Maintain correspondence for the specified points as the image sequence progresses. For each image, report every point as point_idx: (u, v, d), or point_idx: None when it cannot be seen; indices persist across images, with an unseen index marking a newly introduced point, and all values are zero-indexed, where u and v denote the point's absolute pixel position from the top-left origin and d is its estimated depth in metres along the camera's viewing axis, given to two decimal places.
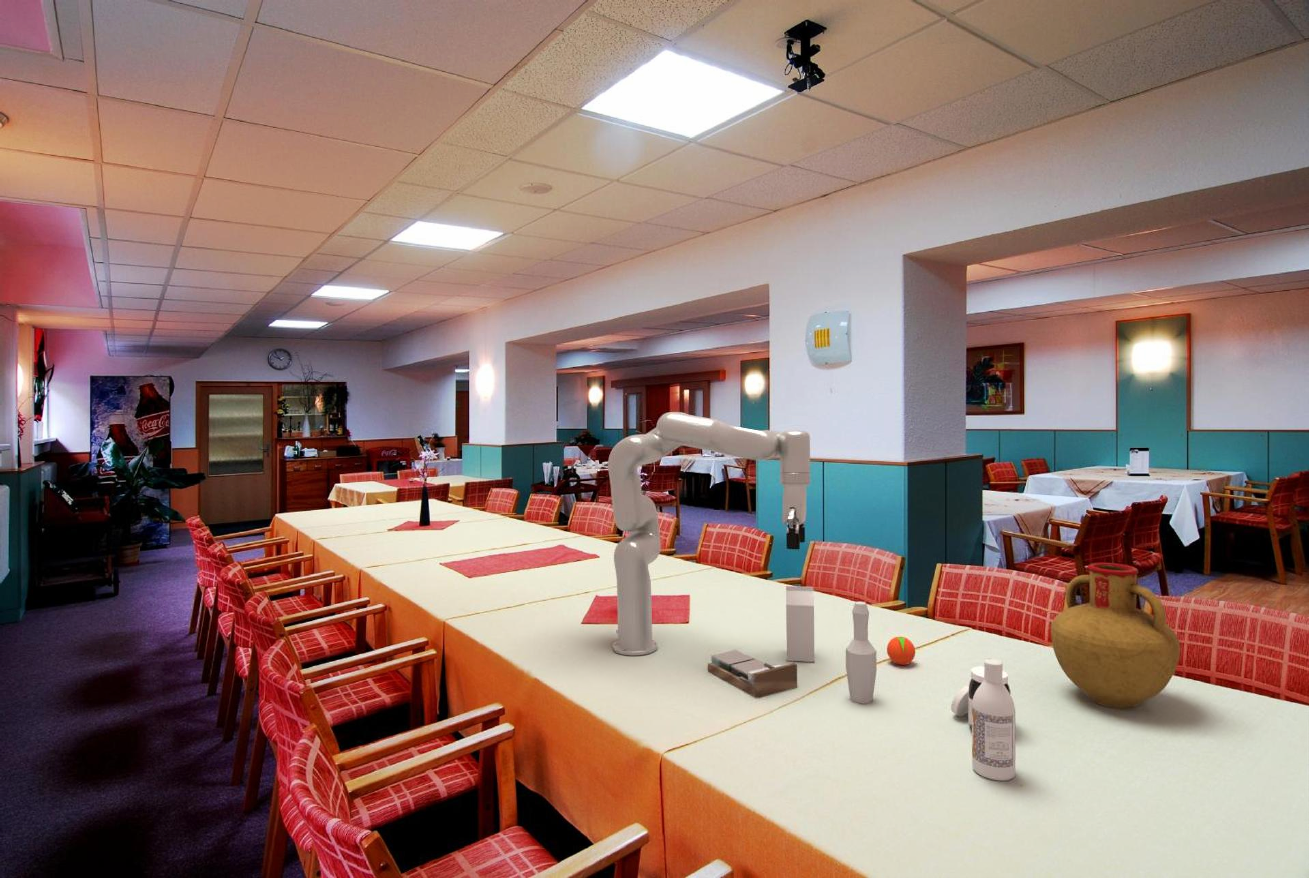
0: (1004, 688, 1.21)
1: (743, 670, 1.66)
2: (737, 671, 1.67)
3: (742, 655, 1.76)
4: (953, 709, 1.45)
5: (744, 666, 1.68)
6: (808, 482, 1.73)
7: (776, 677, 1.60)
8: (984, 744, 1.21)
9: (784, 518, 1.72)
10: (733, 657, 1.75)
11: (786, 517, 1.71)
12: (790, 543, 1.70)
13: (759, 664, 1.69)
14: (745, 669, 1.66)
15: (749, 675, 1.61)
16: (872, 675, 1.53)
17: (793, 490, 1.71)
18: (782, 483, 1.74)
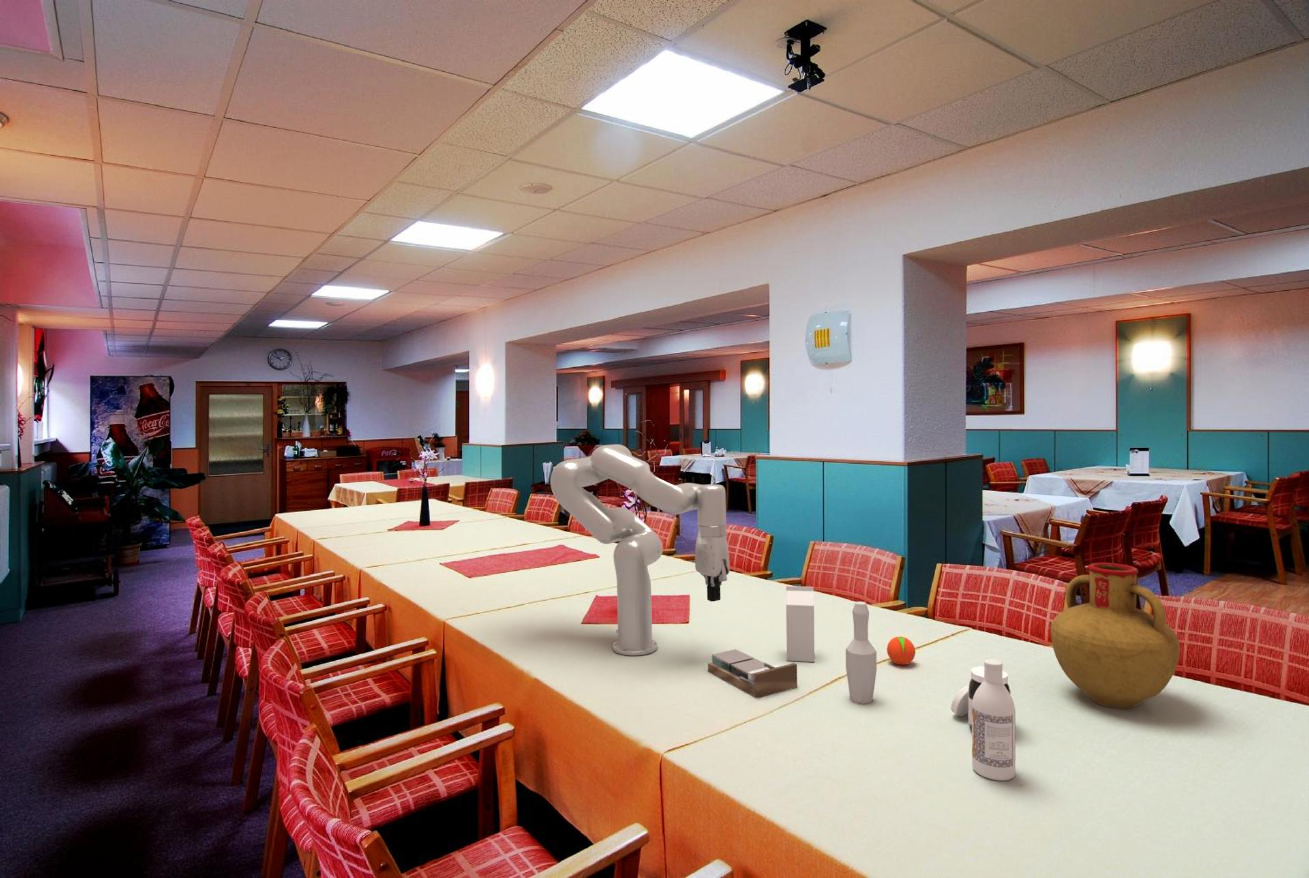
0: (1004, 688, 1.21)
1: (743, 669, 1.66)
2: (737, 670, 1.68)
3: (742, 654, 1.77)
4: (953, 709, 1.45)
5: (744, 665, 1.69)
6: None
7: (776, 677, 1.60)
8: (984, 744, 1.21)
9: (717, 571, 1.76)
10: (733, 656, 1.75)
11: (719, 570, 1.76)
12: (715, 595, 1.80)
13: (759, 663, 1.70)
14: (745, 668, 1.67)
15: (749, 675, 1.61)
16: (872, 675, 1.53)
17: (722, 542, 1.78)
18: (708, 537, 1.78)
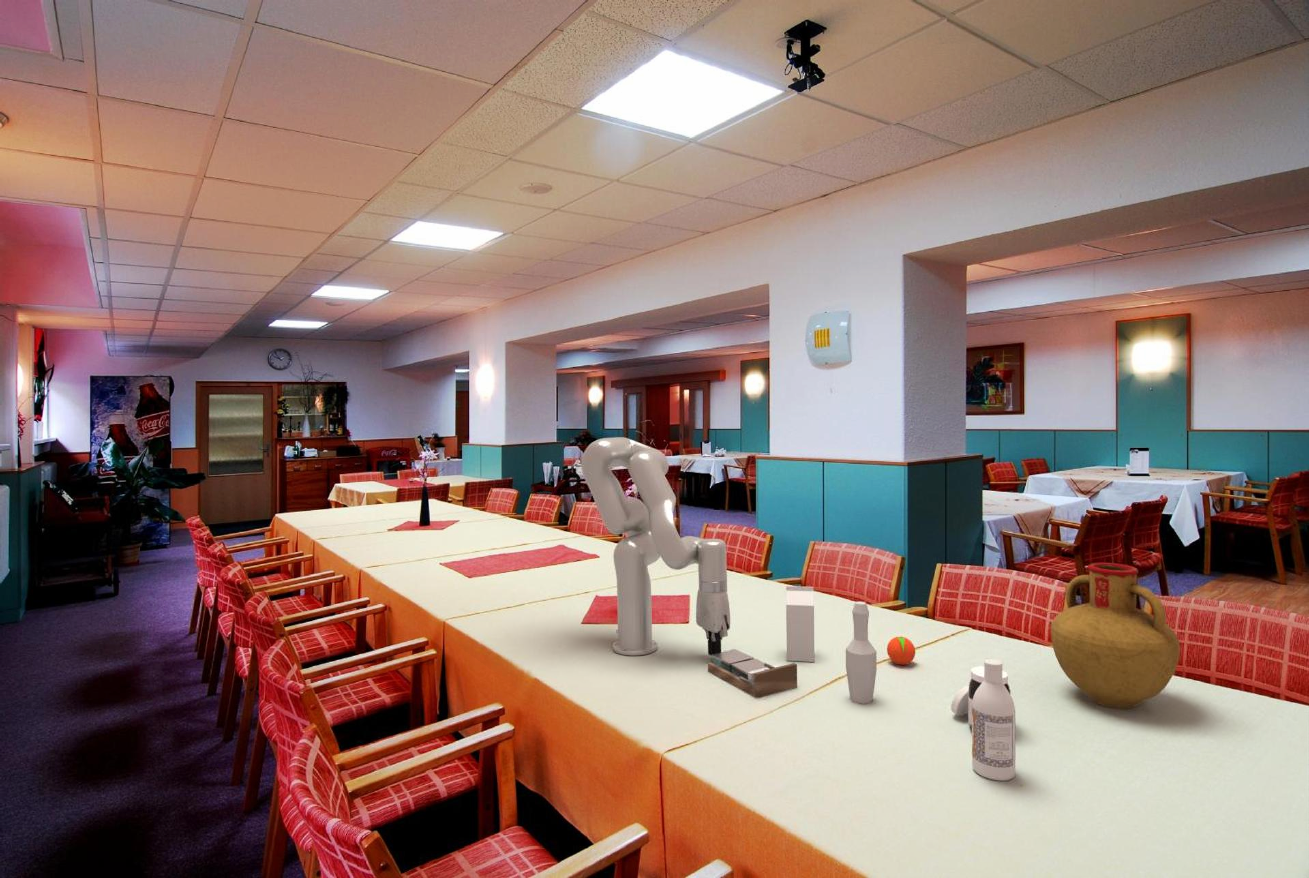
0: (1004, 688, 1.21)
1: (743, 669, 1.66)
2: (737, 669, 1.68)
3: (742, 654, 1.77)
4: (953, 709, 1.45)
5: (744, 665, 1.69)
6: None
7: (776, 677, 1.60)
8: (984, 744, 1.21)
9: (718, 627, 1.77)
10: (733, 656, 1.75)
11: (720, 626, 1.77)
12: (716, 650, 1.81)
13: (760, 663, 1.70)
14: (745, 668, 1.67)
15: (749, 675, 1.61)
16: (872, 675, 1.53)
17: (723, 598, 1.78)
18: (709, 593, 1.78)
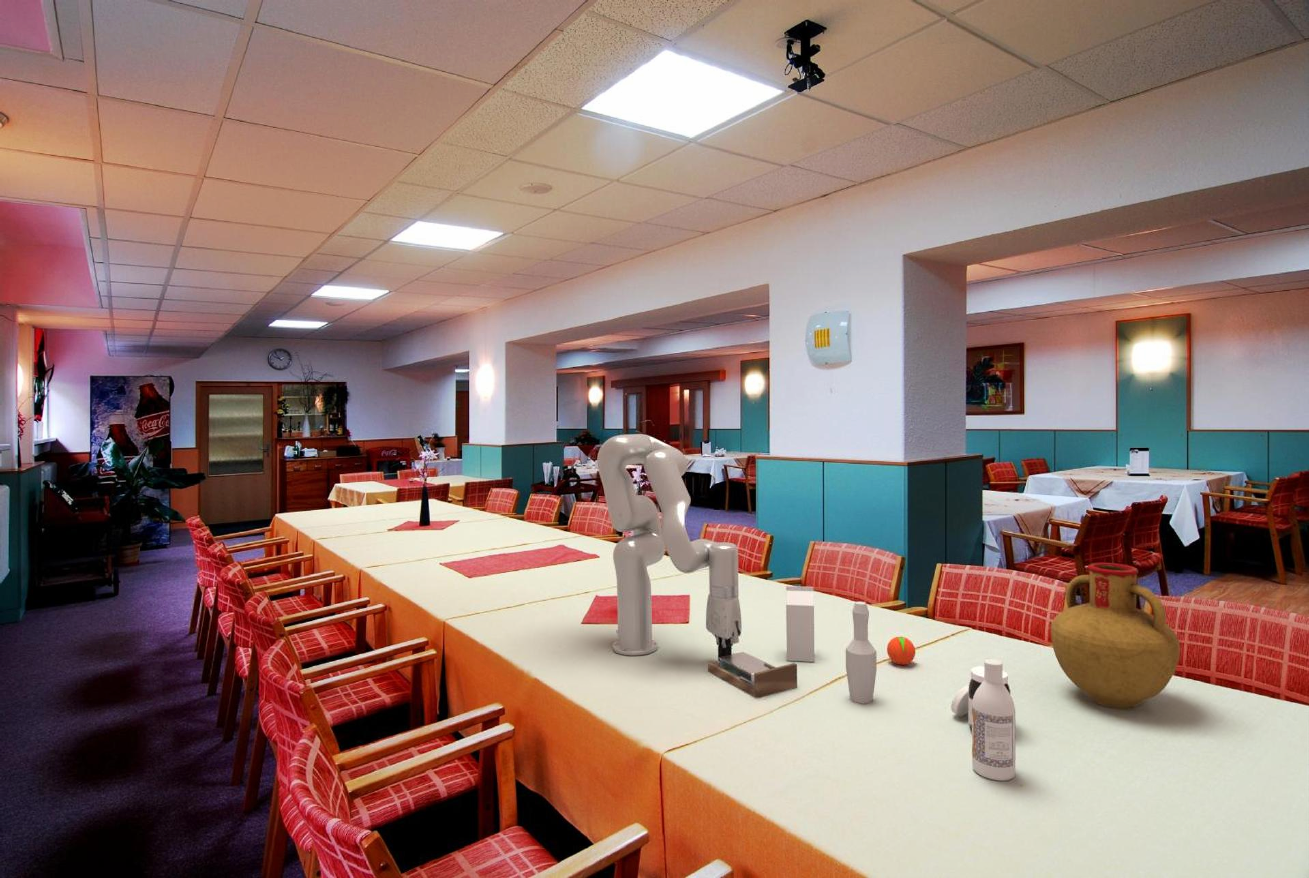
0: (1004, 688, 1.21)
1: (749, 671, 1.64)
2: (743, 672, 1.66)
3: (750, 657, 1.74)
4: (953, 709, 1.45)
5: (750, 667, 1.67)
6: None
7: (776, 677, 1.60)
8: (984, 744, 1.21)
9: (729, 633, 1.72)
10: (741, 659, 1.73)
11: (731, 632, 1.73)
12: None
13: None
14: (751, 670, 1.65)
15: (752, 677, 1.60)
16: (872, 675, 1.53)
17: (735, 604, 1.74)
18: (720, 598, 1.74)
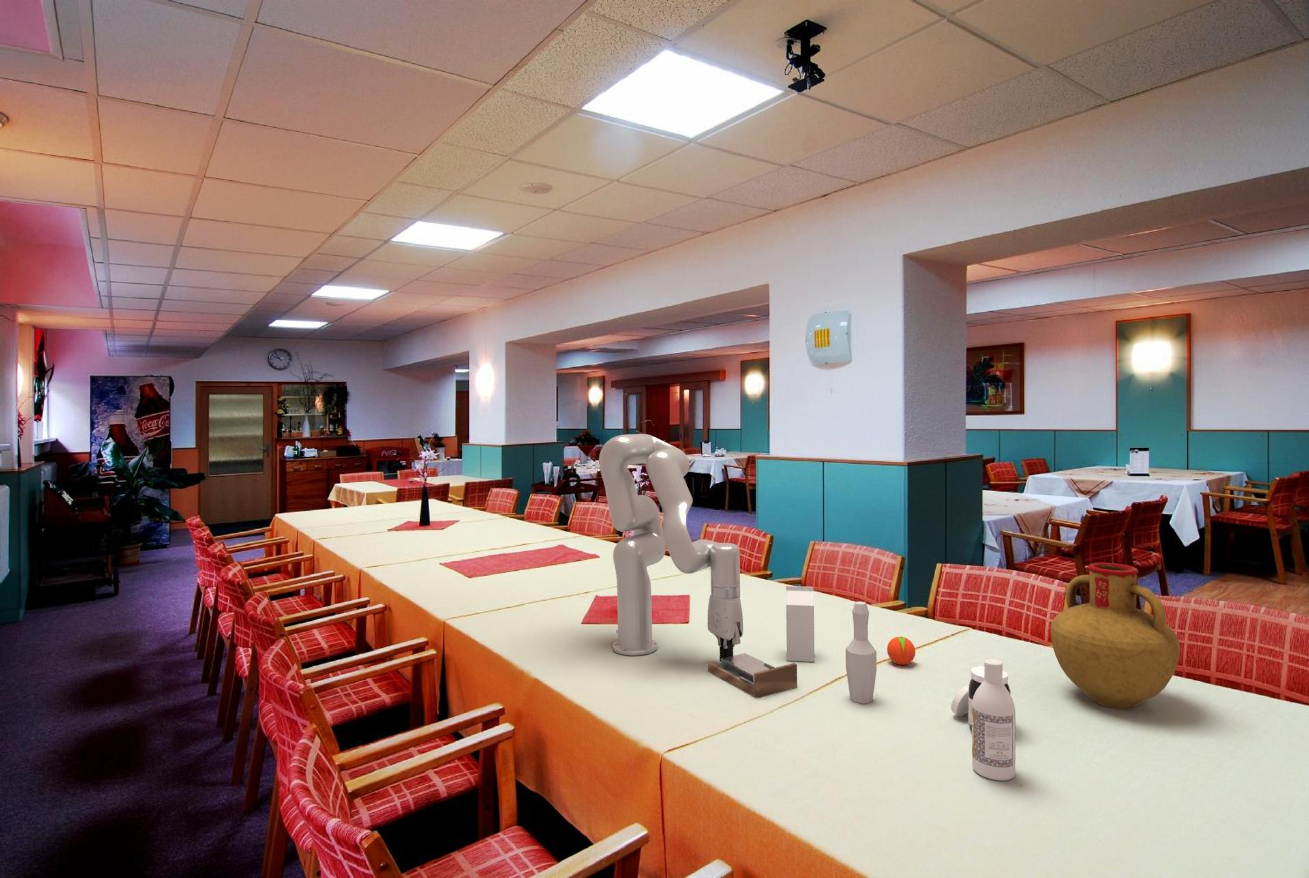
0: (1004, 688, 1.21)
1: (751, 673, 1.64)
2: (745, 673, 1.65)
3: (752, 658, 1.74)
4: (953, 709, 1.45)
5: (752, 668, 1.67)
6: None
7: (776, 677, 1.60)
8: (984, 744, 1.21)
9: (731, 634, 1.72)
10: (743, 660, 1.72)
11: (732, 633, 1.72)
12: None
13: None
14: (753, 672, 1.64)
15: None
16: (872, 675, 1.53)
17: (736, 604, 1.73)
18: (721, 599, 1.73)
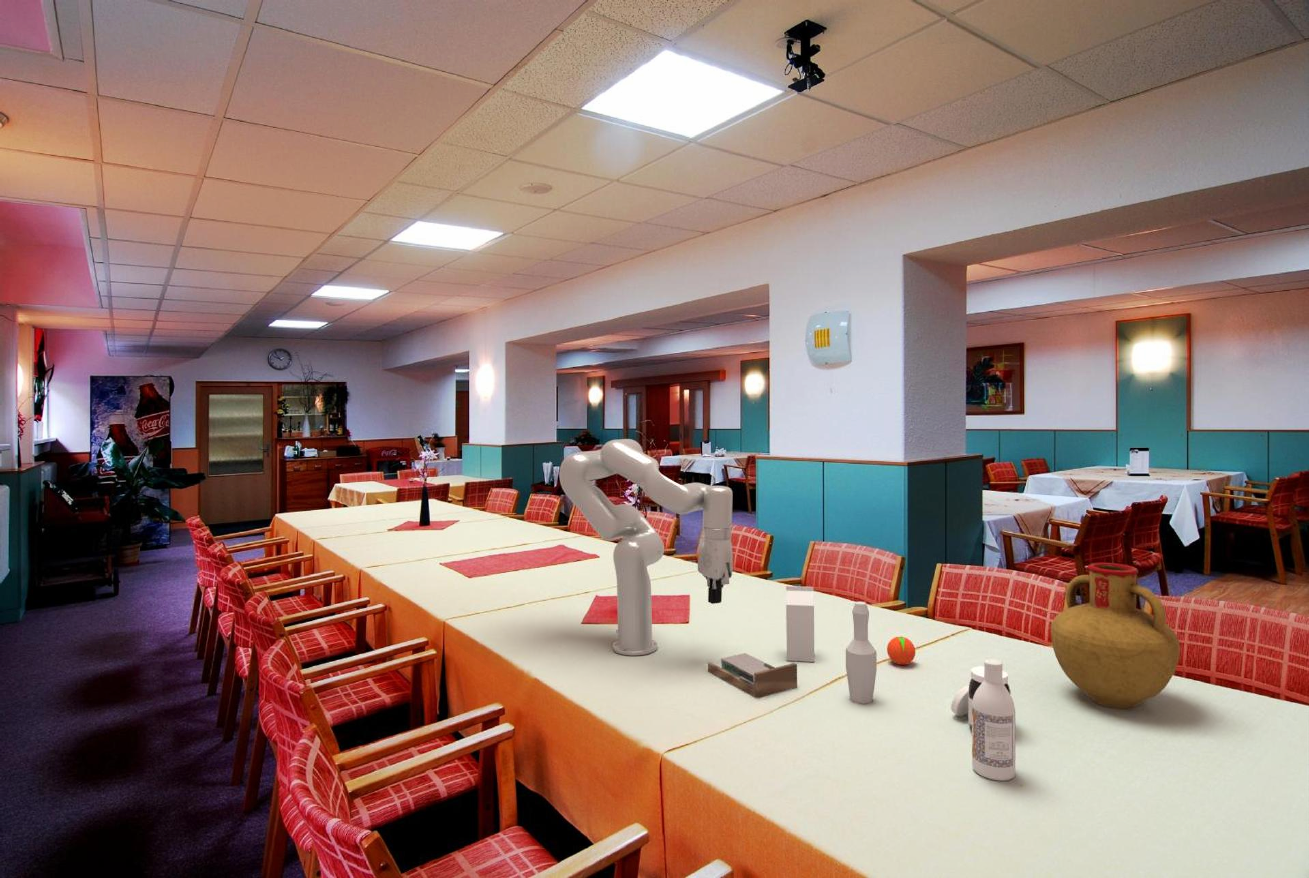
0: (1004, 688, 1.21)
1: (751, 673, 1.64)
2: (745, 673, 1.65)
3: (752, 658, 1.74)
4: (953, 709, 1.45)
5: (752, 668, 1.67)
6: None
7: (776, 677, 1.60)
8: (984, 744, 1.21)
9: (720, 574, 1.74)
10: (743, 660, 1.72)
11: (722, 573, 1.75)
12: (716, 598, 1.79)
13: None
14: (753, 672, 1.64)
15: None
16: (872, 675, 1.53)
17: (727, 545, 1.76)
18: (712, 539, 1.76)
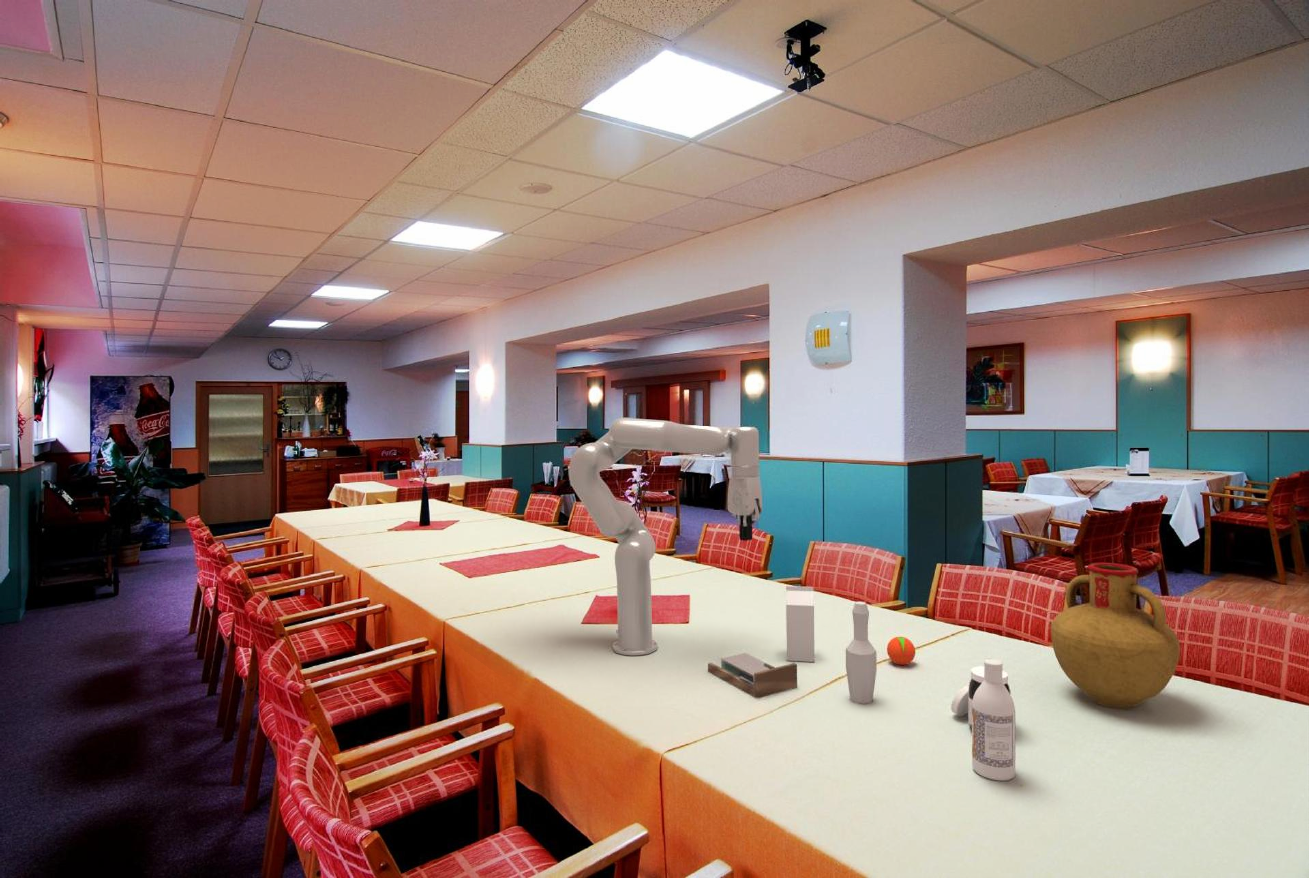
0: (1004, 688, 1.21)
1: (751, 673, 1.64)
2: (745, 673, 1.65)
3: (752, 658, 1.74)
4: (953, 709, 1.45)
5: (752, 668, 1.67)
6: None
7: (776, 677, 1.60)
8: (984, 744, 1.21)
9: (750, 509, 1.80)
10: (743, 660, 1.72)
11: (752, 508, 1.80)
12: (747, 535, 1.84)
13: None
14: (753, 672, 1.64)
15: None
16: (872, 675, 1.53)
17: (756, 482, 1.81)
18: (741, 477, 1.82)
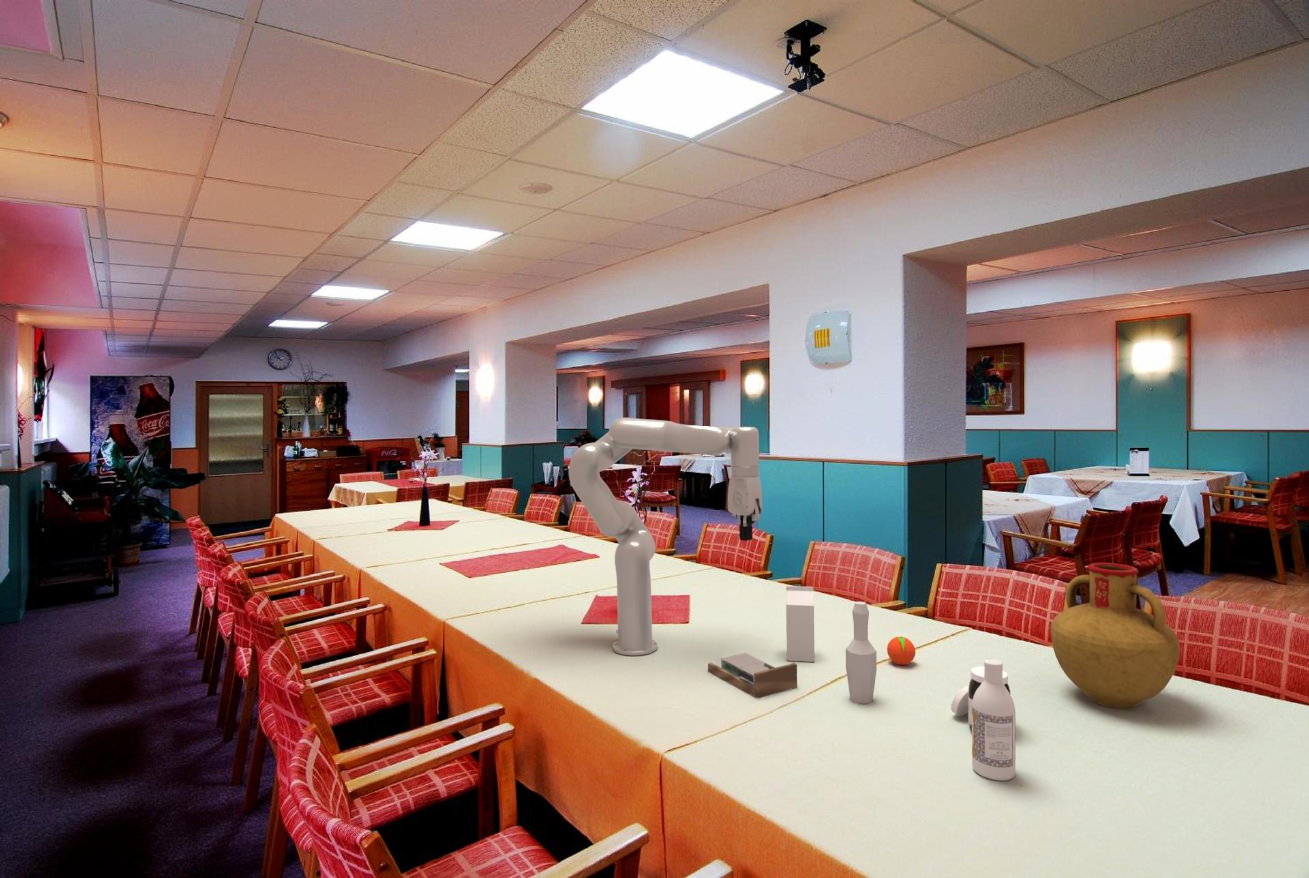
0: (1004, 688, 1.21)
1: (751, 673, 1.64)
2: (745, 673, 1.65)
3: (752, 658, 1.74)
4: (953, 709, 1.45)
5: (752, 668, 1.67)
6: None
7: (776, 677, 1.60)
8: (984, 744, 1.21)
9: (751, 510, 1.80)
10: (743, 660, 1.72)
11: (752, 508, 1.80)
12: (747, 535, 1.84)
13: None
14: (753, 672, 1.64)
15: None
16: (872, 675, 1.53)
17: (756, 482, 1.81)
18: (741, 477, 1.82)
